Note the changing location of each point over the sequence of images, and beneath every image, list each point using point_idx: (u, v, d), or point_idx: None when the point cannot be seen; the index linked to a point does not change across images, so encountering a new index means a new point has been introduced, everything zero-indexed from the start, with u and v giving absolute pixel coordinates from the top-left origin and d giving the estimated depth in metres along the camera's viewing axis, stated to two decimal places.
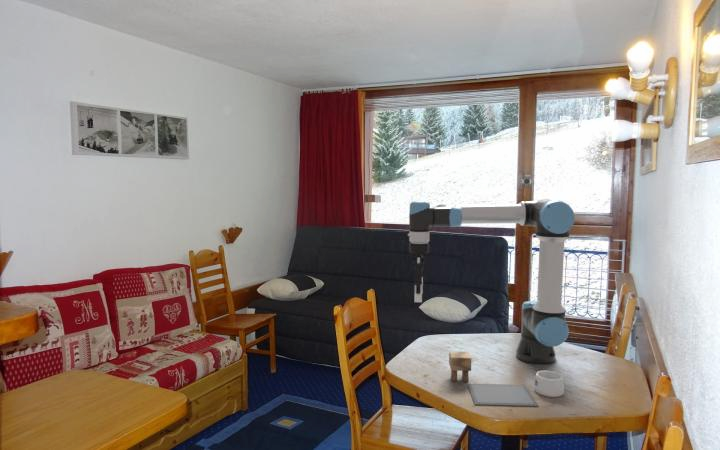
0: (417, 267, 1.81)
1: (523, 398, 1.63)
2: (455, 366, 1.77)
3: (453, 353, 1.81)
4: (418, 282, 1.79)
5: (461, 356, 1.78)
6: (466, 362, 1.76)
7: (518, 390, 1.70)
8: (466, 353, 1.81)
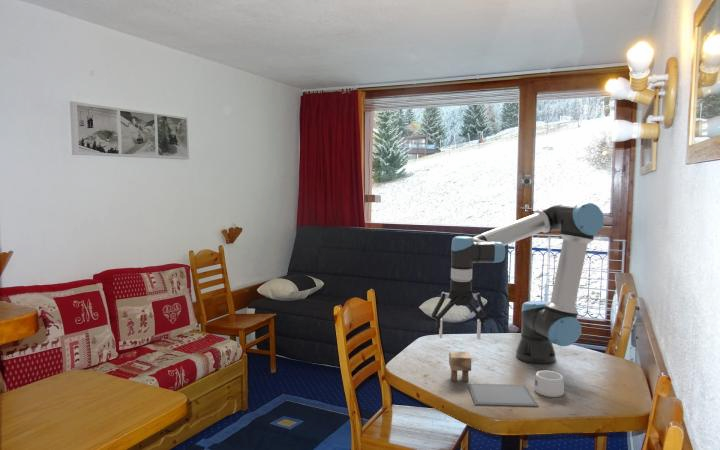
0: None
1: (523, 398, 1.63)
2: (455, 366, 1.77)
3: (453, 353, 1.81)
4: (432, 315, 1.79)
5: (461, 356, 1.78)
6: (466, 362, 1.76)
7: (518, 390, 1.70)
8: (466, 353, 1.81)
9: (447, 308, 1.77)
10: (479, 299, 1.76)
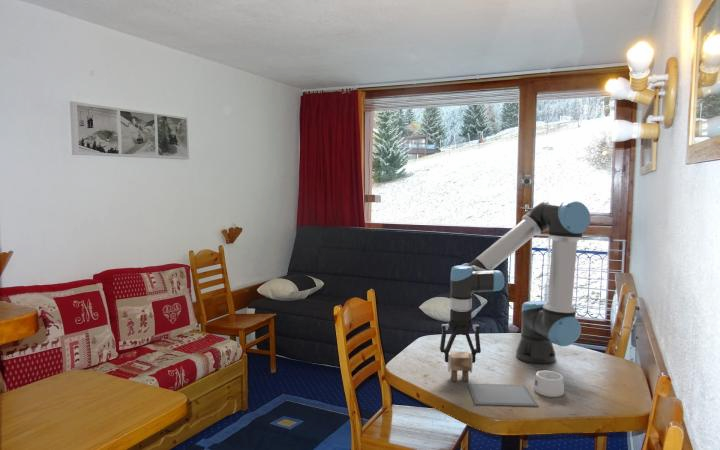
0: (442, 334, 1.80)
1: (523, 398, 1.63)
2: (455, 366, 1.77)
3: (453, 353, 1.81)
4: (440, 349, 1.80)
5: (461, 356, 1.78)
6: (466, 362, 1.76)
7: (518, 390, 1.70)
8: (466, 353, 1.81)
9: (451, 340, 1.78)
10: (477, 331, 1.78)
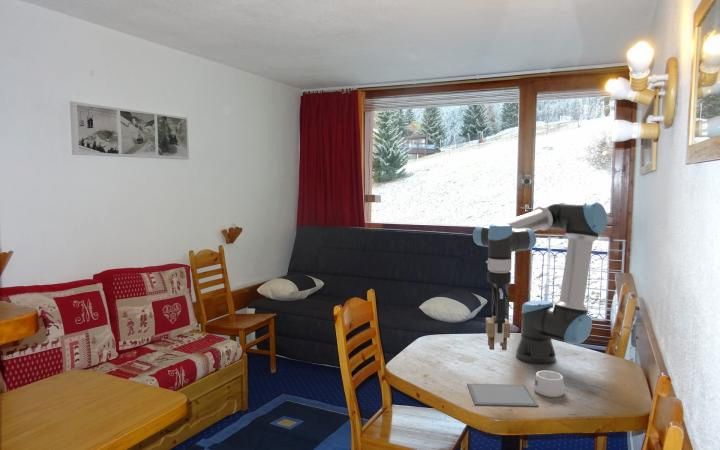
0: (499, 304, 1.59)
1: (523, 398, 1.63)
2: None
3: None
4: (501, 321, 1.59)
5: None
6: None
7: (518, 390, 1.70)
8: (493, 318, 1.69)
9: None
10: None
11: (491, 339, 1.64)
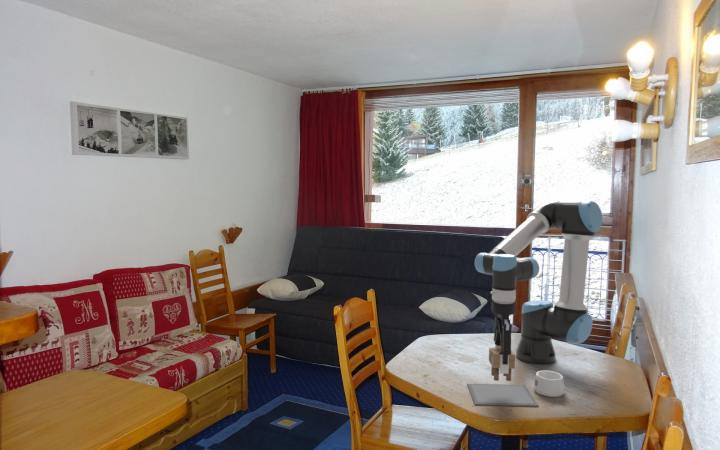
0: (505, 336, 1.58)
1: (523, 398, 1.63)
2: None
3: None
4: (507, 352, 1.58)
5: None
6: None
7: (518, 390, 1.70)
8: (496, 348, 1.68)
9: None
10: None
11: (496, 370, 1.63)
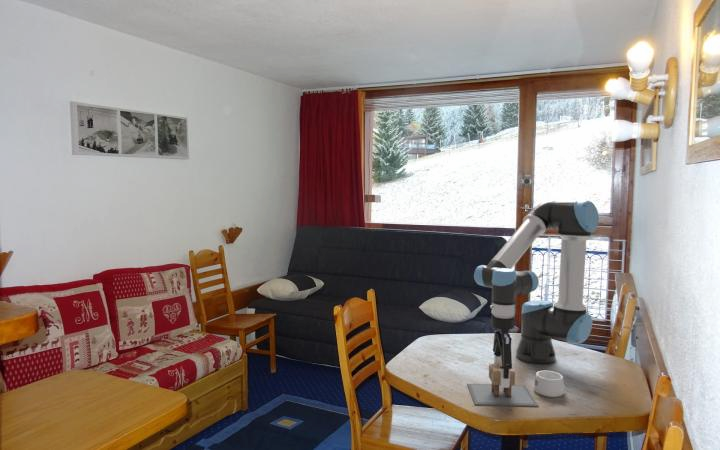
0: (506, 349, 1.58)
1: (523, 398, 1.63)
2: None
3: (500, 369, 1.64)
4: (508, 367, 1.58)
5: None
6: None
7: (518, 390, 1.70)
8: (496, 364, 1.69)
9: None
10: None
11: (496, 387, 1.64)
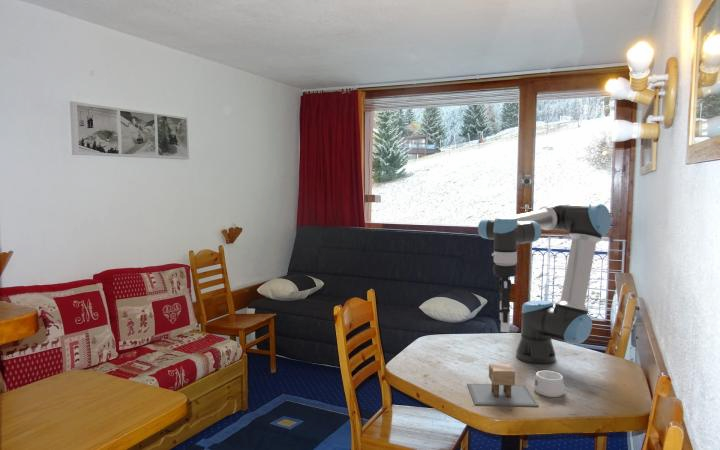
0: (504, 293, 1.60)
1: (523, 398, 1.63)
2: None
3: (500, 369, 1.64)
4: (506, 310, 1.58)
5: (507, 367, 1.66)
6: None
7: (518, 390, 1.70)
8: (496, 364, 1.69)
9: None
10: None
11: (496, 387, 1.64)
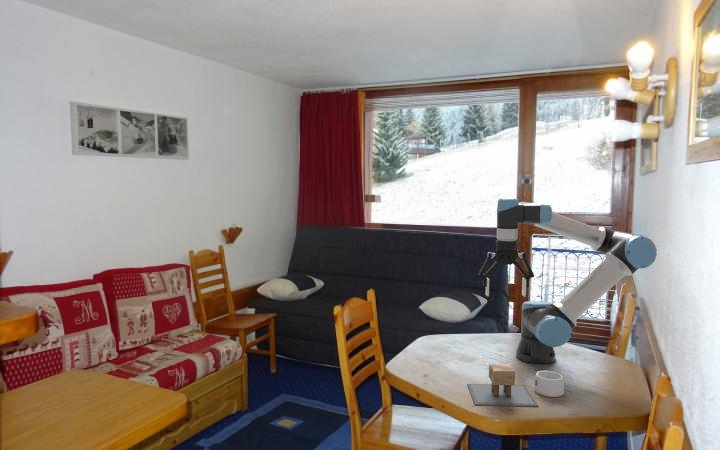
0: (485, 261, 1.87)
1: (523, 398, 1.63)
2: None
3: (500, 369, 1.64)
4: (479, 274, 1.87)
5: (507, 367, 1.66)
6: None
7: (518, 390, 1.70)
8: (496, 364, 1.69)
9: (494, 267, 1.85)
10: (524, 258, 1.84)
11: (496, 387, 1.64)
